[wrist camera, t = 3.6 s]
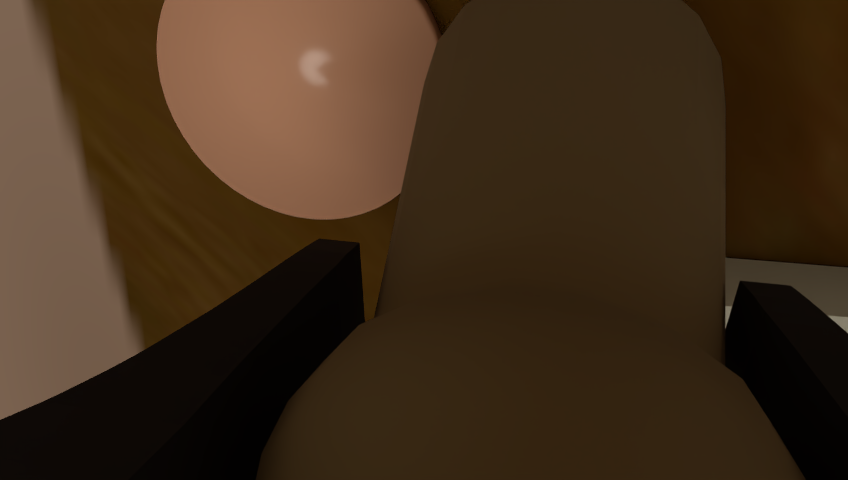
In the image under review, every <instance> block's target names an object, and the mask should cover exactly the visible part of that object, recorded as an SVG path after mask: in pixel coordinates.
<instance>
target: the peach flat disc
mask: <svg viewBox="0 0 848 480" xmlns="http://www.w3.org/2000/svg"><path fill="white" fill-rule="evenodd" d="M441 36H442V35H441V32H440V29H439V26H438V24H437V22H436V20H435V18H434V15H433V13H432V11H431V9H430V7H429V5H428V4H427V2H426V1H425V0H165V2H164V4H163V7H162V11H161V15H160V20H159V25H158V34H157V62H158V69H159V75H160V81H161V85H162V89H163V92H164V95H165V99H166V102H167V104H168V107H169V109H170V111H171V114H172V116H173V118H174V120H175V122H176V124H177V126H178V128H179V130H180V131H181V133H182V135H183V136H184V138H185V139H186V141H187V142H188V144H189V145H190V147H191V148H192V150H193V151H194V152H195V153H196V154H197V156H198V157H199V158H200V159H201V160H202V162H203V163H204V164H205V165H206V166H207V167H208V168H209V169H210V170H211V171H212V172H213V173H214V174H215V175H216V176H217V177H218V178H220V179H221V180H222V181H223V182H225V183H226V184H227V185H229V186H230V187H231V188H232V189H234V190H235V191H237V192H238V193H240V194H242V195H243V196H245V197H246V198H248V199H250V200H252V201H254V202H256V203H258V204H260V205H262V206H264V207H266V208H269V209H272V210H274V211H277V212H280V213H283V214H287V215H291V216H295V217H301V218H308V219H339V218H347V217H351V216H356V215H360V214H363V213H366V212H368V211H371V210H374V209H376V208H378V207H380V206H382V205H383V204H385V203H387V202H389V201H391V200H392V199H393V198H395V197H396V196H397V195H399V194H400V193H401V189H402V185H403V180H404V175H405V171H406V166H407V161H408V156H409V152H410V147H411V142H412V138H413V133H414V128H415V124H416V119H417V114H418V109H419V105H420V100H421V95H422V91H423V86H424V82H425V79H426V76H427V72H428V69H429V66H430V63H431V60H432V57H433V53H434V50H435V47H436V44H437V42H438V40H439V39H440V38H441Z"/></svg>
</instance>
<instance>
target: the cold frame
mask: <svg viewBox="0 0 848 480" xmlns="http://www.w3.org/2000/svg"><path fill="white" fill-rule="evenodd" d="M740 281H750V282H760V283H770V284H780V285H790V286H792V287H793V288H795V289H796V290H797V291H798V292H800V293H801V294H802V295H804V296H805V297H806V298H807V299H809V300H810V301H811V302H812V303H813V304H815V305H816V306H817V307H818V308H819V309H820V310H822V311H823V312H824V313H825V314H826V315H827V316H829V317H830V318H831V319H832V320H833V321H834V322H836V323H837V324H838V325H839V326H840V327H841V328H842V329H844V330H845V331H846V332H847V333H848V268H847V267H835V266H822V265H810V264H798V263H785V262H773V261H760V260H748V259H735V258H725V329H726V325H727V322H728V319H729V315H730V312H731V309H732V305H733V302H734V299H735V295H736V292H737V288H738V285H739V282H740Z"/></svg>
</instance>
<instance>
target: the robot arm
mask: <svg viewBox="0 0 848 480" xmlns="http://www.w3.org/2000/svg"><path fill="white" fill-rule="evenodd" d="M364 322H365V317H364V303H363V288H362V274H361V259H360V244H359V243H356V242H346V241H336V240H326V239H318V240H316V241H315V242H313V243H311V244H309V245H308V246H306V247H305V248H303V249H302V250H300V251H299V252H297V253H296V254H294V255H293V256H291V257H290V258H288V259H287V260H285V261H284V262H282V263H281V264H279V265H278V266H276V267H275V268H273V269H272V270H271V271H269V272H268V273H266V274H265V275H263V276H262V277H260V278H259V279H257V280H256V281H254V282H253V283H251V284H250V285H248V286H247V287H245V288H244V289H242V290H241V291H239V292H238V293H236V294H235V295H233V296H232V297H230V298H229V299H227V300H226V301H224V302H223V303H221V304H220V305H218V306H217V307H215V308H213V309H212V310H210V311H209V312H207V313H205V314H204V315H202V316H200V317H199V318H197V319H195V320H194V321H192V322H190V323H189V324H187V325H185V326H184V327H182V328H180V329H179V330H177V331H175V332H174V333H172V334H170V335H169V336H167V337H165V338H164V339H162V340H161V341H159V342H157V343H156V344H154V345H152V346H151V347H149V348H147V349H145V350H144V351H142V352H140V353H138V354H136V355H135V356H133V357H131V358H129V359H127V360H126V361H124V362H122V363H120V364H118V365H116V366H115V367H112V368H111V369H109V370H107V371H105V372H103V373H101V374H99V375H97V376H95V377H93V378H91V379H89V380H87V381H85V382H83V383H81V384H79V385H77V386H75V387H73V388H71V389H69V390H67V391H65V392H63V393H60V394H58V395H56V396H54V397H52V398H50V399H48V400H45V401H43V402H41V403H39V404H37V405H34V406H32V407H29V408H27V409H25V410H22V411H20V412H18V413H15V414H13V415H11V416H8V417H6V418H4V419H1V420H0V480H256V476H257V471H258V467H259V463H260V458H261V454H262V451H263V449H264V447H265V445H266V443H267V441H268V439H269V437H270V435H271V433H272V431H273V429H274V427H275V425H276V424H277V422H278V420H279V418H280V416H281V414H282V412H283V410H284V408H285V406H286V404H287V402H288V400H289V399H290V398H291V397H292V396H293V395H294V394H295V392H296V391H297V390H298V389H299V388H300V387H301V386H302V385H303V384H304V382H305V381H306V380H307V379H308V378H309V377H310V376H311V375H312V373H313V372H314V371H315V370H316V369H317V368H318V367H319V366H320V364H321V363H322V362H323V361H324V360H325V359H326V358H327V357H328V356H329V355H330V354H331V353H332V352H333V351H334V350H335V349H336V348H337V347H338V346H339V345H340V344H341V343H342V342H343V341H344V340H345V339H346V338H347V337H348V336H349V335H350V334H351V333H352V332H353V331H354V330H355V329H356V328H357V327H358V326H359V325H360V324H362V323H364ZM725 367H727V368H728V369H729V370H731V371H732V372H734V373H735V374H736V375H738V376H739V377H740V378H742V379H743V380H744V382H745V383H746V385H747V387H748V388H749V390H750V391H751V393H752V394H753V396H754V397H755V399H756V400H757V402H758V403H759V405H760V406H761V408H762V409H763V411H764V413H765V414H766V416H767V417H768V419H769V420H770V422H771V423H772V425H773V426H774V428H775V429H776V431H777V432H778V434H779V436H780V437H781V439H782V441H783V442H784V444H785V446H786V447H787V449H788V451H789V452H790V454H791V456H792V457H793V459H794V461H795V462H796V464H797V466H798V467H799V469H800V471H801V472H802V474H803V476H804V477H805V479H806V480H848V333H847V332H846V331H845V330H844V329H842V328H841V327H840V326H839V325H838V324H837V323H836V322H834V321H833V320H832V319H831V318H830V317H829V316H827V315H826V314H825V313H824V312H823V311H822V310H820V309H819V308H818V307H817V306H816V305H815V304H813V303H812V302H811V301H810V300H809V299H807V298H806V297H805V296H804V295H802V294H801V293H800V292H798V291H797V290H796V289H795V288H793V287H792V286H790V285H780V284H770V283H760V282H750V281H740V282H739V285H738V288H737V292H736V295H735V299H734V302H733V305H732V309H731V312H730V315H729V319H728V322H727V325H726V329H725Z"/></svg>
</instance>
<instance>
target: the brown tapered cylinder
mask: <svg viewBox="0 0 848 480" xmlns="http://www.w3.org/2000/svg"><path fill="white" fill-rule="evenodd" d="M725 250H726V102H725V92H724V81H723V71H722V61H721V57H720V55H719V53H718V51H717V49H716V47H715V45H714V43H713V41H712V39H711V37H710V35H709V34H708V32H707V30H706V28H705V26H704V24H703V22H702V20H701V18H700V16H699V15H698V14H697V13H696V12H695V11H694V10H692V9H691V8H690V7H689V6H688V5H687V4H686V3H684V2H683V1H682V0H471V1H470V2H468V3H467V4H466V5H464V7H463V8H462V9H461V11H460V12H459V13H458V15H457V16H456V17H455V19H454V20H453V22H452V23H451V24H450V26H449V27H448V28H447V30H446V31H445V32H444V34H443V35H442V36H441V38H440V39H439V40H438V42H437V44H436V47H435V50H434V53H433V57H432V60H431V63H430V66H429V69H428V72H427V76H426V79H425V82H424V86H423V91H422V95H421V100H420V105H419V109H418V114H417V119H416V124H415V128H414V133H413V138H412V142H411V147H410V152H409V156H408V161H407V166H406V171H405V175H404V180H403V185H402V189H401V194H400V199H399V203H398V208H397V213H396V217H395V222H394V227H393V232H392V236H391V241H390V246H389V250H388V255H387V260H386V264H385V269H384V274H383V279H382V283H381V288H380V293H379V297H378V302H377V307H376V311H375V316H374V319H371V320H369V321H367V322H364V323H362V324H360V325H359V326H358V327H357V328H356V329H355V330H354V331H353V332H352V333H351V334H350V335H349V336H348V337H347V338H346V339H345V340H344V341H343V342H342V343H341V344H340V345H339V346H338V347H337V348H336V349H335V350H334V351H333V352H332V353H331V354H330V355H329V356H328V357H327V358H326V359H325V360H324V361H323V362H322V363H321V364H320V366H319V367H318V368H317V369H316V370H315V371H314V372H313V373H312V375H311V376H310V377H309V378H308V379H307V380H306V381H305V382H304V384H303V385H302V386H301V387H300V388H299V389H298V390H297V391H296V392H295V394H294V395H293V396H292V397H291V398H290V399H289V400H288V402H287V404H286V406H285V408H284V410H283V412H282V414H281V416H280V418H279V420H278V422H277V424H276V425H275V427H274V429H273V431H272V433H271V435H270V437H269V439H268V441H267V443H266V445H265V447H264V449H263V451H262V454H261V458H260V463H259V467H258V471H257V476H256V480H806V479H805V477H804V476H803V474H802V472H801V471H800V469H799V467H798V466H797V464H796V462H795V461H794V459H793V457H792V456H791V454H790V452H789V451H788V449H787V447H786V446H785V444H784V442H783V441H782V439H781V437H780V436H779V434H778V432H777V431H776V429H775V428H774V426H773V425H772V423H771V422H770V420H769V419H768V417H767V416H766V414H765V413H764V411H763V409H762V408H761V406H760V405H759V403H758V402H757V400H756V399H755V397H754V396H753V394H752V393H751V391H750V390H749V388H748V387H747V385H746V383H745V382H744V380H743V379H742V378H740V377H739V376H738V375H736V374H735V373H734V372H732V371H731V370H729V369H728V368H727V367H725Z"/></svg>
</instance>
